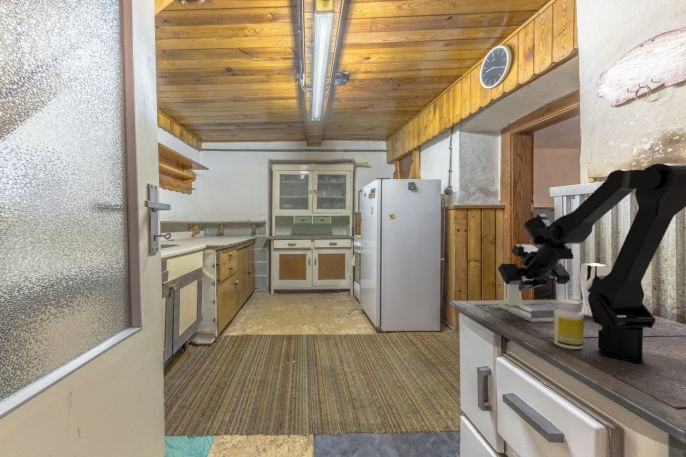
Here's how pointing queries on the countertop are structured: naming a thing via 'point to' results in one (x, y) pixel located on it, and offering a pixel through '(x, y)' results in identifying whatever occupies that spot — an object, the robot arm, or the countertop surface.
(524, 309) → the fader rail
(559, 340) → the supplement bottle
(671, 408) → the countertop surface
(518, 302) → the white rectangular canister
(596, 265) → the beer glass
